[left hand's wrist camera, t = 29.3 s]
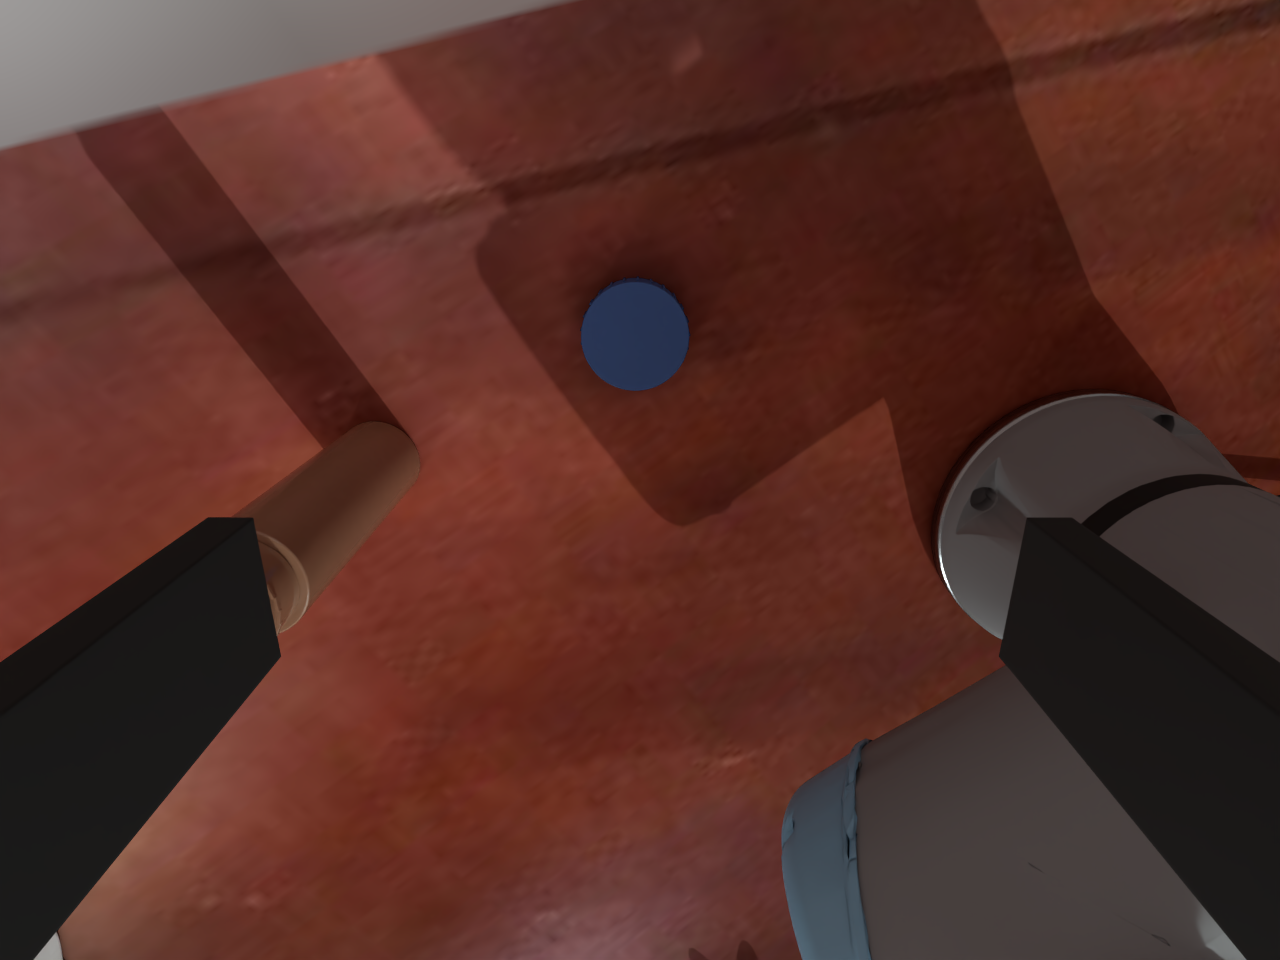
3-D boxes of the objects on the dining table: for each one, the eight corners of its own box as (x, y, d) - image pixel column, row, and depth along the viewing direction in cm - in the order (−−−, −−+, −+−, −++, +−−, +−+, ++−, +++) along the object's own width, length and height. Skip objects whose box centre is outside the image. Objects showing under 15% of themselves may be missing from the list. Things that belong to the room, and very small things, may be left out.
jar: (392, 513, 41) (243, 692, 26) (323, 466, 40) (124, 623, 25) (436, 454, 40) (306, 605, 25) (365, 404, 39) (184, 528, 24)
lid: (617, 255, 37) (615, 257, 34) (708, 312, 38) (712, 319, 35) (563, 347, 38) (559, 355, 36) (652, 400, 39) (653, 411, 37)
